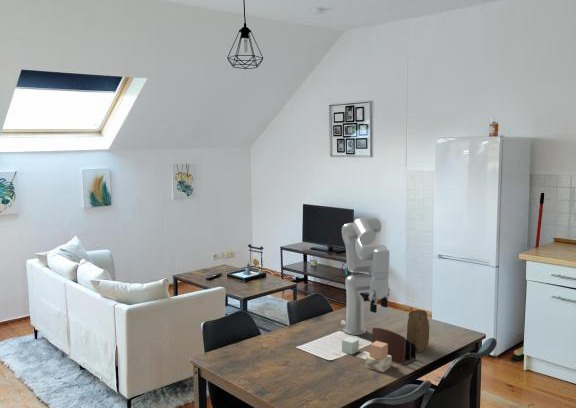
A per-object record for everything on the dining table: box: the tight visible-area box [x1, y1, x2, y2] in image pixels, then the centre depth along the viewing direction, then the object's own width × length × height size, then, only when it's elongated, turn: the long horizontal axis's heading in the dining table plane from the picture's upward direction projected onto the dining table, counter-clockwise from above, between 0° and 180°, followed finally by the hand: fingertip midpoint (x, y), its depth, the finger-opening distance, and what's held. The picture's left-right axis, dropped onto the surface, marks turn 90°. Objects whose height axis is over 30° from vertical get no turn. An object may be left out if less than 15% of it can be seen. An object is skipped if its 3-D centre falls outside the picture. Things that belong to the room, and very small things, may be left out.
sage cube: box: [341, 336, 360, 355], centre depth 268 cm, size 6×6×6 cm
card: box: [355, 350, 370, 361], centre depth 262 cm, size 8×8×1 cm
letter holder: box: [371, 327, 417, 366], centre depth 262 cm, size 10×20×14 cm, turn 43°
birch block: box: [365, 355, 393, 373], centre depth 251 cm, size 9×9×5 cm
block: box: [406, 309, 430, 353], centre depth 271 cm, size 11×8×20 cm
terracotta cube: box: [369, 341, 388, 360], centre depth 250 cm, size 6×6×6 cm
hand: (378, 309), depth 256 cm, fingers open, 9 cm apart
